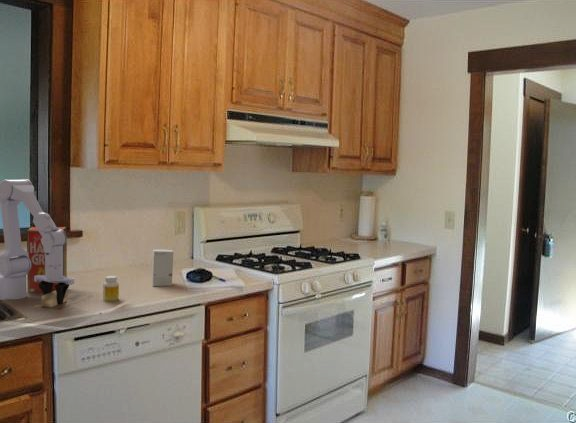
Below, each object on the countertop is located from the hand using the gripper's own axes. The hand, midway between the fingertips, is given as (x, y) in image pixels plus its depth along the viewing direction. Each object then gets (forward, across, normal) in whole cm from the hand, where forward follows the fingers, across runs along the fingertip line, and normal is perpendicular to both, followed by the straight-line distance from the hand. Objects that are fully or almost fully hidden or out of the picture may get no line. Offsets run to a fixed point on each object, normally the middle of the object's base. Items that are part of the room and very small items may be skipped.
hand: (54, 303), depth 187 cm
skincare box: (+2, +20, +44) cm, 49 cm away
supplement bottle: (+2, +14, +12) cm, 19 cm away
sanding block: (+1, 0, 0) cm, 1 cm away
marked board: (+2, 0, +6) cm, 6 cm away
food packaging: (+2, -16, +18) cm, 25 cm away
